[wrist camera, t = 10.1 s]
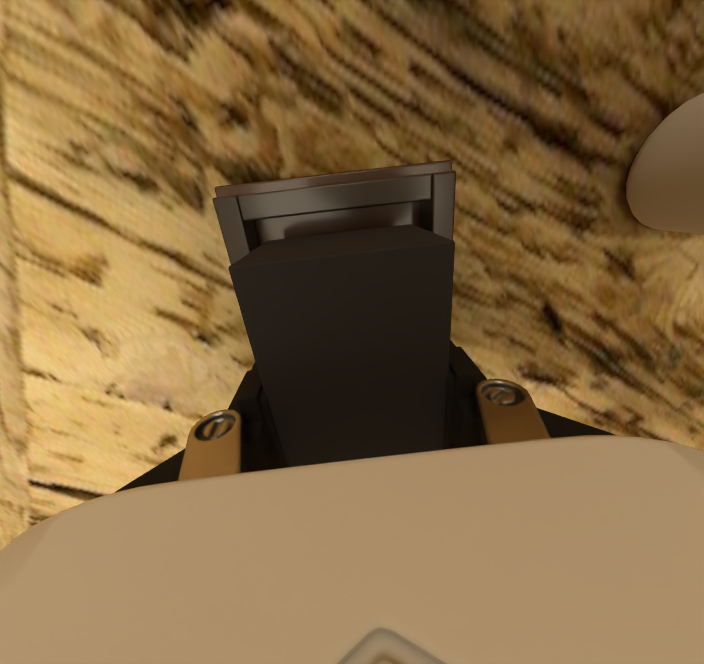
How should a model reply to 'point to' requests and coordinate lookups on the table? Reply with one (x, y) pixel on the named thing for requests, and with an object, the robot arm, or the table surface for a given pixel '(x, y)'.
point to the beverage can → (671, 173)
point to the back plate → (336, 204)
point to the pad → (351, 340)
